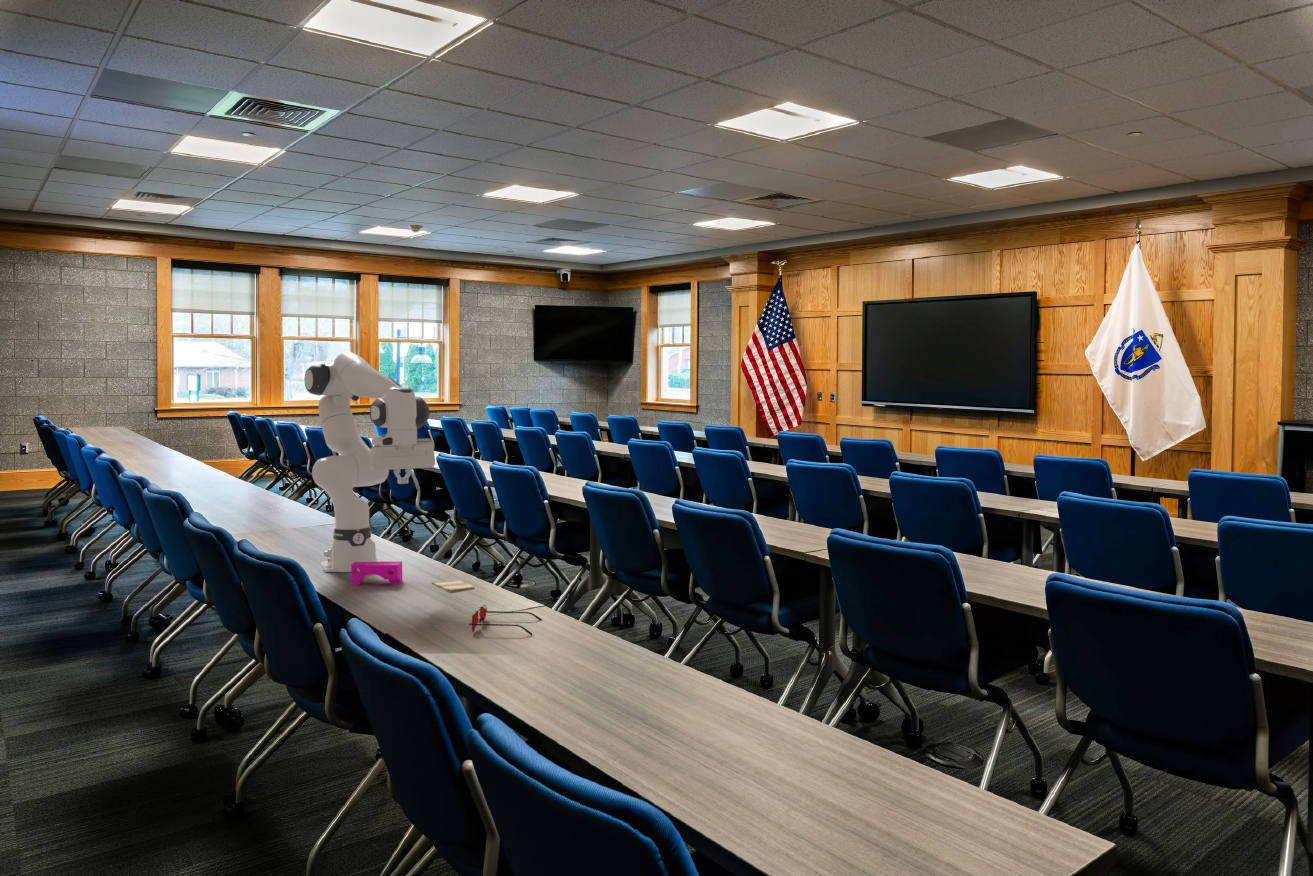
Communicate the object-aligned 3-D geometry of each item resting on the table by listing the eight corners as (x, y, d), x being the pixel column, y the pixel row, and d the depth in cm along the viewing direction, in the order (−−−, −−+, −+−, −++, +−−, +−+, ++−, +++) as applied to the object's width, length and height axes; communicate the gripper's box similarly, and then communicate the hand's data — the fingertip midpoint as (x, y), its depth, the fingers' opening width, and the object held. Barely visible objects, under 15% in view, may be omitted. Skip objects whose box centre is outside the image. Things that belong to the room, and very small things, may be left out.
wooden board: (431, 586, 282) (431, 582, 282) (455, 582, 287) (455, 579, 287) (450, 593, 271) (450, 590, 271) (474, 590, 276) (474, 586, 276)
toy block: (397, 565, 279) (397, 588, 279) (402, 561, 285) (402, 584, 286) (348, 565, 278) (349, 589, 278) (354, 562, 284) (355, 585, 285)
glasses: (482, 620, 240) (482, 602, 240) (543, 621, 239) (542, 603, 239) (468, 634, 227) (467, 615, 226) (532, 635, 225) (532, 616, 225)
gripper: (430, 437, 284) (430, 480, 285) (366, 439, 272) (367, 484, 273) (438, 438, 279) (438, 482, 280) (373, 440, 267) (374, 486, 268)
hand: (402, 483), depth 276 cm, fingers closed
